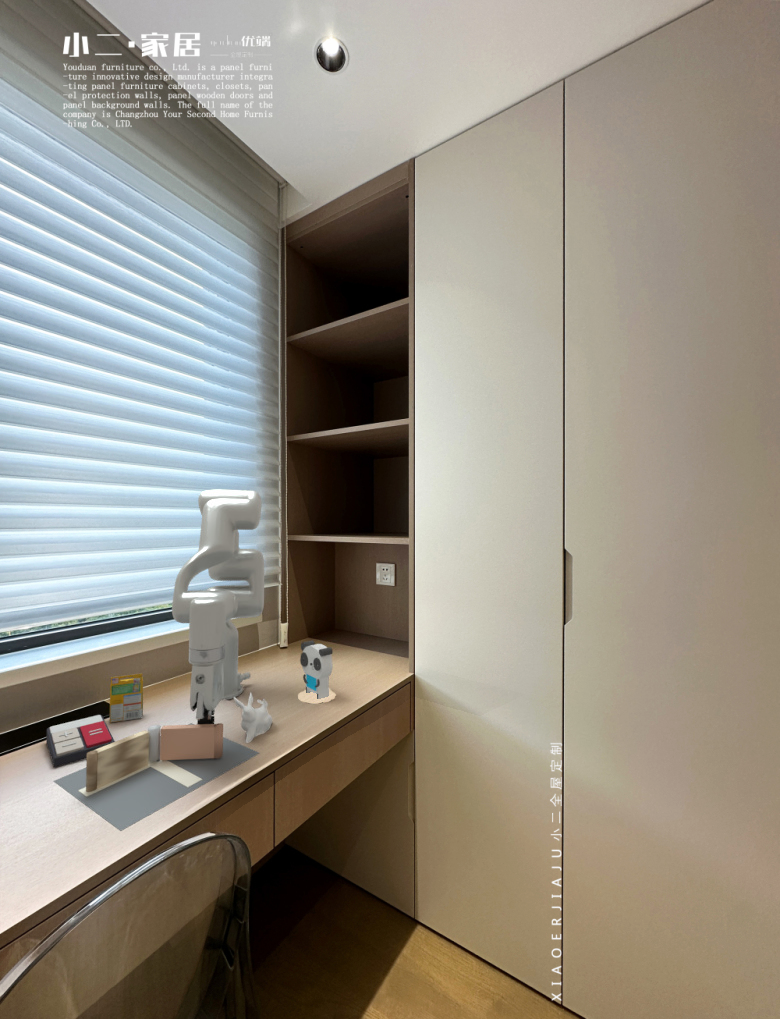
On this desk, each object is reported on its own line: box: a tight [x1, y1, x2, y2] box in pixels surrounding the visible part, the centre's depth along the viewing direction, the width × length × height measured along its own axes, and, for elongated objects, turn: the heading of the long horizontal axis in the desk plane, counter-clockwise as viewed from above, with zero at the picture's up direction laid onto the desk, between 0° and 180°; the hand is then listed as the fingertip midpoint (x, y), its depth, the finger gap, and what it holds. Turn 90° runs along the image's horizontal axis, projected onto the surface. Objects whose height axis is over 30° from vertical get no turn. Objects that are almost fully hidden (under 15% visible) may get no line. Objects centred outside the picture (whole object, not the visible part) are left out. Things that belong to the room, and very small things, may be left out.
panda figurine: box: [299, 640, 334, 699], centre depth 136 cm, size 12×11×15 cm
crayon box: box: [109, 672, 144, 724], centre depth 119 cm, size 7×3×12 cm, turn 115°
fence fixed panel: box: [85, 729, 149, 792], centre depth 92 cm, size 12×2×7 cm, turn 147°
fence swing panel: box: [147, 722, 224, 762], centre depth 99 cm, size 15×2×7 cm, turn 97°
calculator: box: [46, 714, 116, 768], centre depth 104 cm, size 11×4×15 cm
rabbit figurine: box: [233, 692, 273, 744], centre depth 112 cm, size 12×8×10 cm, turn 155°
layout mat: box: [53, 722, 260, 832], centre depth 96 cm, size 30×25×1 cm
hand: (205, 735), depth 103 cm, fingers closed
